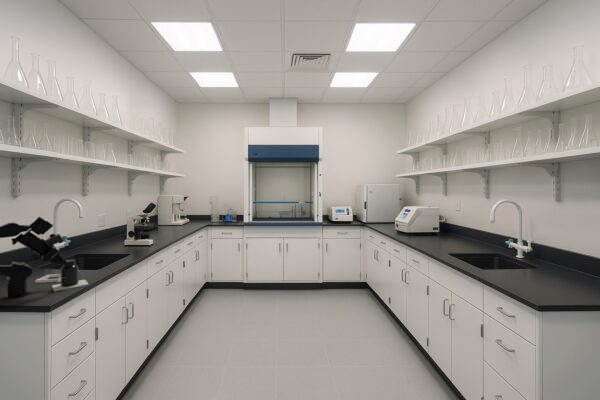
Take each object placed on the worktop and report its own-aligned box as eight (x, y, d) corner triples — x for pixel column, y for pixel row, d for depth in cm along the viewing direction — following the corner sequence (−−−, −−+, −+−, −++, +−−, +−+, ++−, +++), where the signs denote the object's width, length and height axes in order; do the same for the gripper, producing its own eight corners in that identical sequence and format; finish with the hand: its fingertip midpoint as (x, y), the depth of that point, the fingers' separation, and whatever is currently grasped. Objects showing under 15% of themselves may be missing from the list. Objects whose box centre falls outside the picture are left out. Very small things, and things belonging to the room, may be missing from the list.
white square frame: (58, 281, 148) (58, 278, 148) (35, 283, 146) (35, 280, 146) (70, 276, 158) (70, 273, 158) (49, 277, 156) (49, 274, 156)
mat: (54, 291, 133) (54, 290, 133) (52, 286, 141) (52, 285, 140) (88, 284, 143) (88, 283, 143) (84, 280, 150) (84, 279, 150)
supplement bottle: (58, 287, 137) (57, 262, 136) (63, 283, 143) (62, 259, 143) (76, 285, 140) (75, 261, 139) (80, 281, 146) (79, 258, 146)
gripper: (52, 230, 129) (83, 251, 137) (47, 227, 142) (76, 246, 150) (28, 251, 124) (62, 271, 132) (26, 245, 137) (56, 264, 145)
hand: (65, 262), depth 140 cm, fingers open, 9 cm apart
